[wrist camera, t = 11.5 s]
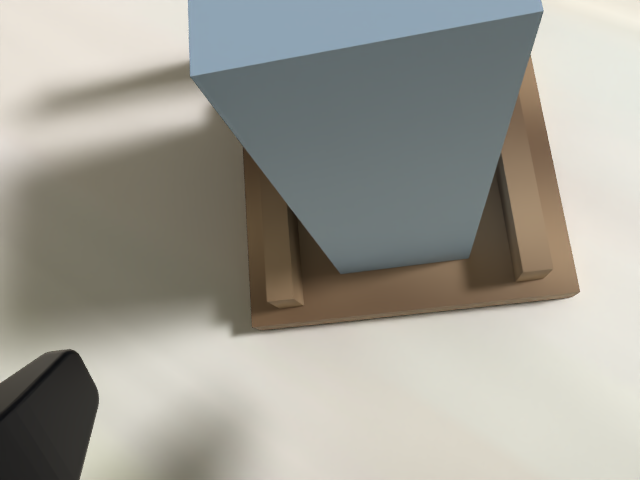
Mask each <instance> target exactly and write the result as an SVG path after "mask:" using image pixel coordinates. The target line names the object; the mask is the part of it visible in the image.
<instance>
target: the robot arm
mask: <svg viewBox="0 0 640 480" xmlns="http://www.w3.org/2000/svg"><path fill="white" fill-rule="evenodd" d="M98 404H99V394H98V390H97V387H96V385H95V383H94V381H93V379H92V378H91V376H90V374H89V372H88V370H87V368H86V366H85V364H84V362H83V360H82V359H81V357H80V355H79V354H78V353H77V352H76V351H74V350H71V349H67V350H59V351H51V352H47V353H44V354H43V355H41V356H40V357H38V358H37V359H35V360H34V361H32V362H31V363H29V364H28V365H26V366H25V367H23V368H22V369H20V370H19V371H18V372H16V373H15V374H13V375H12V376H10V377H9V378H7V379H6V380H4V381H3V382H1V383H0V480H80V476H81V472H82V468H83V464H84V460H85V456H86V452H87V448H88V444H89V441H90V437H91V433H92V429H93V425H94V421H95V417H96V413H97V409H98Z"/></svg>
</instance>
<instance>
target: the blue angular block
mask: <svg viewBox="0 0 640 480" xmlns="http://www.w3.org/2000/svg"><path fill="white" fill-rule="evenodd" d="M542 14H543V7H542V2H541V0H188V18H189V54H190V77H191V78H192V80H193V81H194V82H195V84H196V85H197V86H198V88H199V89H200V90H201V91H202V93H203V94H204V95H205V97H206V98H207V99H208V101H209V102H210V103H211V105H212V106H213V107H214V109H215V110H216V111H217V112H218V114H219V115H220V116H221V118H222V119H223V120H224V122H225V123H226V124H227V126H228V127H229V128H230V129H231V131H232V132H233V133H234V135H235V136H236V137H237V139H238V140H239V141H240V143H241V144H242V145H243V147H244V148H245V149H246V151H247V152H248V153H249V154H250V156H251V157H252V158H253V160H254V161H255V162H256V164H257V165H258V166H259V168H260V169H261V170H262V171H263V173H264V174H265V175H266V177H267V178H268V179H269V181H270V182H271V183H272V185H273V186H274V187H275V189H276V190H277V191H278V192H279V194H280V195H281V196H282V198H283V199H284V200H285V202H286V203H287V204H288V206H289V207H290V208H291V210H292V211H293V212H294V213H295V215H296V216H297V217H298V219H299V220H300V221H301V223H302V224H303V225H304V227H305V228H306V229H307V231H308V232H309V233H310V234H311V236H312V237H313V238H314V240H315V241H316V242H317V244H318V245H319V246H320V248H321V249H322V250H323V252H324V253H325V254H326V255H327V257H328V258H329V259H330V261H331V262H332V263H333V265H334V266H335V267H336V269H337V270H338V271H339V273H340V274H346V273H354V272H362V271H371V270H379V269H387V268H395V267H403V266H411V265H419V264H427V263H435V262H443V261H452V260H460V259H468V258H469V256H470V253H471V249H472V246H473V243H474V240H475V236H476V233H477V230H478V226H479V223H480V220H481V216H482V213H483V210H484V206H485V203H486V200H487V196H488V193H489V190H490V187H491V183H492V180H493V177H494V173H495V170H496V167H497V163H498V160H499V157H500V153H501V150H502V147H503V144H504V140H505V137H506V134H507V130H508V127H509V124H510V120H511V117H512V114H513V110H514V107H515V104H516V100H517V97H518V94H519V90H520V87H521V84H522V81H523V77H524V74H525V71H526V67H527V64H528V61H529V57H530V54H531V51H532V47H533V44H534V41H535V37H536V34H537V31H538V28H539V24H540V21H541V18H542Z"/></svg>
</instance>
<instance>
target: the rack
mask: <svg viewBox="0 0 640 480" xmlns="http://www.w3.org/2000/svg"><path fill="white" fill-rule="evenodd" d="M243 159H244V179H245V199H246V219H247V239H248V258H249V278H250V298H251V318H252V328H255V329H258V330H270V329H279V328H288V327H298V326H307V325H317V324H326V323H335V322H345V321H354V320H363V319H373V318H382V317H391V316H401V315H410V314H419V313H429V312H438V311H447V310H457V309H466V308H475V307H485V306H494V305H503V304H513V303H522V302H532V301H541V300H550V299H560V298H569V297H573V296H575V295H576V294H578V293H579V292H580V289H579V284H578V279H577V275H576V270H575V265H574V260H573V255H572V251H571V246H570V241H569V236H568V232H567V227H566V222H565V217H564V212H563V208H562V203H561V198H560V193H559V189H558V184H557V179H556V174H555V169H554V165H553V160H552V155H551V150H550V145H549V141H548V136H547V131H546V126H545V122H544V117H543V112H542V107H541V102H540V98H539V93H538V88H537V83H536V79H535V74H534V69H533V64H532V59H531V55H530V57H529V61H528V64H527V67H526V71H525V74H524V77H523V81H522V84H521V87H520V90H519V94H518V97H517V100H516V104H515V107H514V110H513V114H512V117H511V120H510V124H509V127H508V130H507V134H506V137H505V140H504V144H503V147H502V150H501V153H500V157H499V160H498V163H497V167H496V170H495V173H494V177H493V180H492V183H491V187H490V190H489V193H488V196H487V200H486V203H485V206H484V210H483V213H482V216H481V220H480V223H479V226H478V230H477V233H476V236H475V240H474V243H473V246H472V249H471V253H470V256H469V258H468V259H460V260H452V261H443V262H435V263H427V264H419V265H411V266H403V267H395V268H387V269H379V270H371V271H362V272H354V273H346V274H340V273H339V271H338V270H337V269H336V267H335V266H334V265H333V263H332V262H331V261H330V259H329V258H328V257H327V255H326V254H325V253H324V252H323V250H322V249H321V248H320V246H319V245H318V244H317V242H316V241H315V240H314V238H313V237H312V236H311V234H310V233H309V232H308V231H307V229H306V228H305V227H304V225H303V224H302V223H301V221H300V220H299V219H298V217H297V216H296V215H295V213H294V212H293V211H292V210H291V208H290V207H289V206H288V204H287V203H286V202H285V200H284V199H283V198H282V196H281V195H280V194H279V192H278V191H277V190H276V189H275V187H274V186H273V185H272V183H271V182H270V181H269V179H268V178H267V177H266V175H265V174H264V173H263V171H262V170H261V169H260V168H259V166H258V165H257V164H256V162H255V161H254V160H253V158H252V157H251V156H250V154H249V153H248V152H247V151H246V149H245V148H244V147H243Z"/></svg>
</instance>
